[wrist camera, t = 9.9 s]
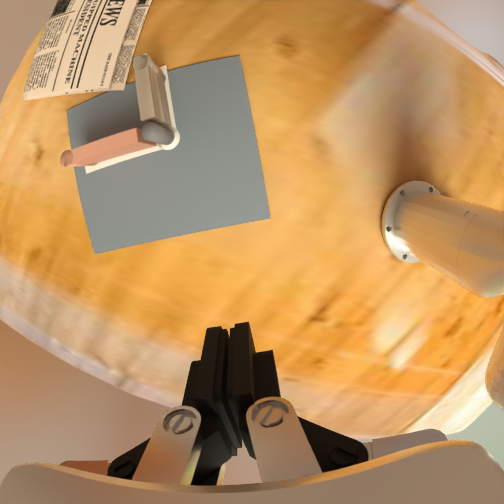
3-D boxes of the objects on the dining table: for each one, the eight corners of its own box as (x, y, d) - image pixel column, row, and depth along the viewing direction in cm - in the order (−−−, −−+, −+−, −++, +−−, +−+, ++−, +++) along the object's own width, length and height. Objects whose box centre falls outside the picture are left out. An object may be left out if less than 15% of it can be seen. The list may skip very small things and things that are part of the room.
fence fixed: (165, 72, 30) (148, 52, 23) (173, 125, 32) (156, 115, 25) (150, 76, 30) (131, 58, 23) (158, 129, 32) (139, 120, 25)
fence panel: (173, 128, 32) (157, 119, 25) (175, 143, 33) (160, 137, 26) (87, 153, 32) (59, 153, 25) (89, 167, 33) (61, 169, 26)
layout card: (238, 50, 30) (238, 49, 29) (270, 217, 37) (270, 218, 36) (67, 104, 30) (66, 104, 30) (95, 253, 37) (94, 254, 37)
